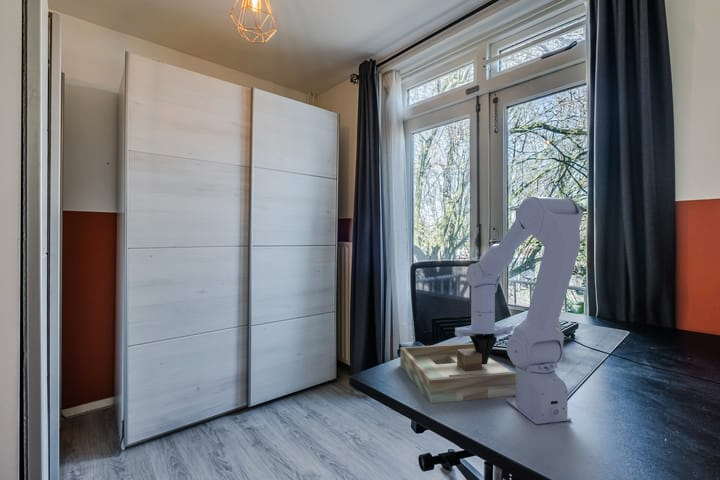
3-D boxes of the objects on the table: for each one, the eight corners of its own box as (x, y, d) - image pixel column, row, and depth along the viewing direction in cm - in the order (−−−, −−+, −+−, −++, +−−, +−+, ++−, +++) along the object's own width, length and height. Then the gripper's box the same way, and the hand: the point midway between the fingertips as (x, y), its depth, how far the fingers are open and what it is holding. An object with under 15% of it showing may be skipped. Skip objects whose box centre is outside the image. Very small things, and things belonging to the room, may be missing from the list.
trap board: (529, 394, 76) (529, 372, 76) (430, 403, 72) (430, 380, 71) (478, 359, 97) (478, 342, 97) (400, 365, 93) (400, 347, 93)
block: (481, 370, 83) (481, 354, 83) (465, 371, 82) (465, 355, 82) (473, 363, 88) (472, 348, 88) (457, 364, 87) (457, 349, 87)
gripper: (499, 306, 91) (499, 355, 91) (449, 308, 88) (449, 359, 88) (515, 312, 84) (515, 365, 84) (462, 314, 81) (462, 369, 81)
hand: (482, 363), depth 86 cm, fingers closed
